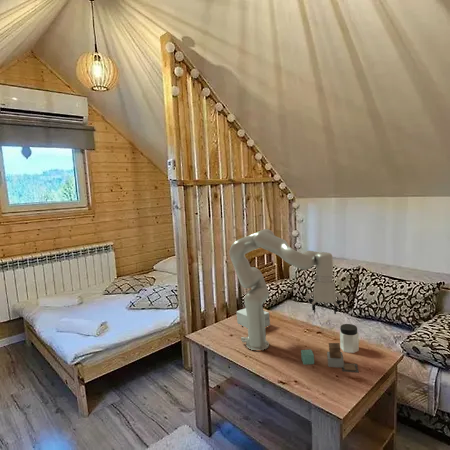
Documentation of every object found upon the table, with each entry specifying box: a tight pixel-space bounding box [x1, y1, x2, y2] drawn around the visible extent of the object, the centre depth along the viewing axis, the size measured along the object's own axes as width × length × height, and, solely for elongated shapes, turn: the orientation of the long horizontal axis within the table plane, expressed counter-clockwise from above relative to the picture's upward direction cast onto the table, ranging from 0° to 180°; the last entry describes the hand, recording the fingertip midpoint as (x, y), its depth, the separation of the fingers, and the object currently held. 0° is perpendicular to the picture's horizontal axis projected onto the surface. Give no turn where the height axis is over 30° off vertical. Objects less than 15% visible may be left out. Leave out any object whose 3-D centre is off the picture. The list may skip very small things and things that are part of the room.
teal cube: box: [300, 349, 315, 365], centre depth 160 cm, size 5×5×5 cm
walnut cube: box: [328, 342, 342, 358], centre depth 156 cm, size 5×5×5 cm
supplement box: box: [236, 307, 271, 328], centre depth 206 cm, size 17×13×9 cm
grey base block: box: [326, 351, 345, 368], centre depth 157 cm, size 7×7×4 cm
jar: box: [339, 323, 360, 354], centre depth 169 cm, size 9×8×12 cm
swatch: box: [341, 362, 360, 373], centre depth 152 cm, size 7×7×1 cm
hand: (324, 312), depth 160 cm, fingers open, 9 cm apart
